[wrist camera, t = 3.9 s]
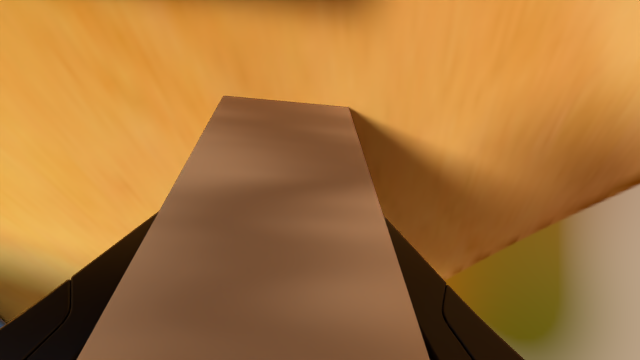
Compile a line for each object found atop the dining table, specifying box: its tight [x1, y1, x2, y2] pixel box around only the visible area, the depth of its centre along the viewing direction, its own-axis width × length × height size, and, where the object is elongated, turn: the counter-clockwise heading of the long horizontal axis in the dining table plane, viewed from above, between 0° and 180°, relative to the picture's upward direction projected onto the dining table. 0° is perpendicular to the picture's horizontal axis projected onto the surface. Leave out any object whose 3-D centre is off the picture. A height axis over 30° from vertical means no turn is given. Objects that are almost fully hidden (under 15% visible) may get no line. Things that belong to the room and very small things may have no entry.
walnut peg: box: [77, 96, 430, 360], centre depth 7 cm, size 4×4×8 cm
